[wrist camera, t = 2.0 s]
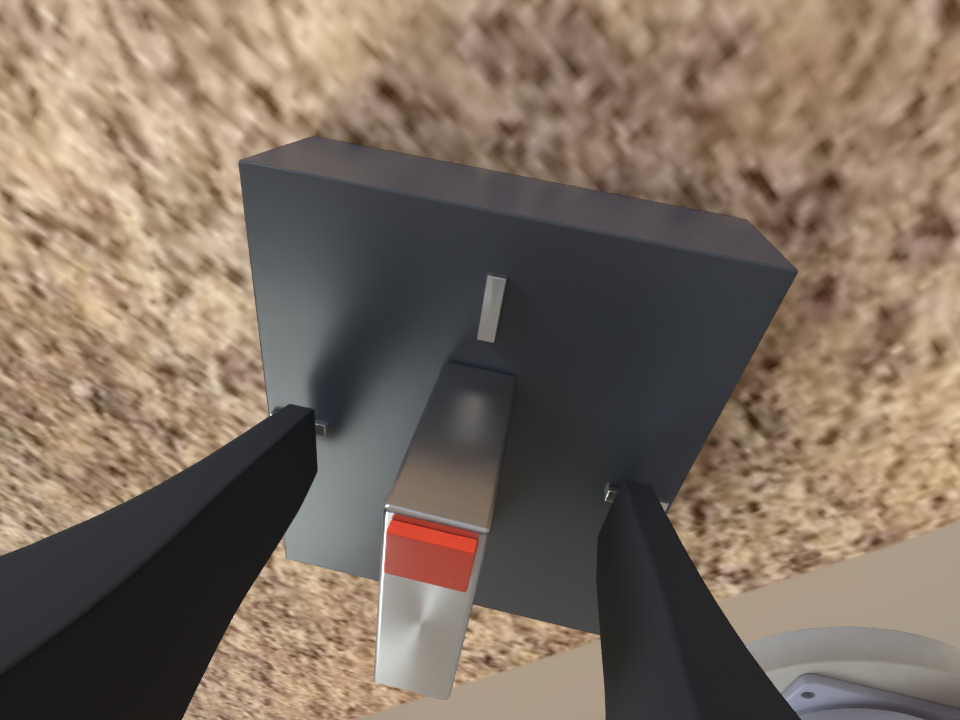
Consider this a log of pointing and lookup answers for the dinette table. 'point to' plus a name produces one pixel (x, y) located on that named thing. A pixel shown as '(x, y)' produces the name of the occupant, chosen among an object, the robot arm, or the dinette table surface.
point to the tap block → (496, 345)
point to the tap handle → (440, 529)
